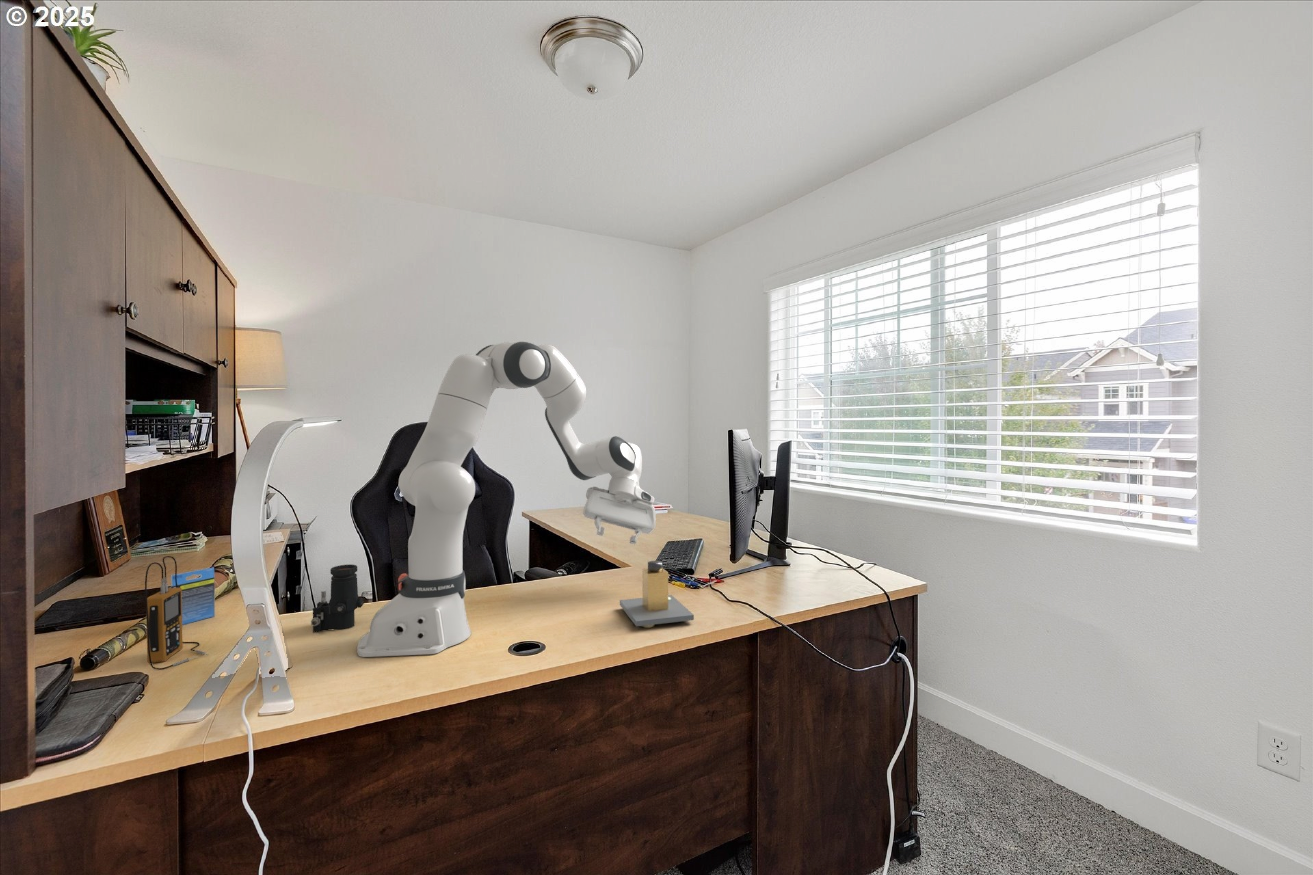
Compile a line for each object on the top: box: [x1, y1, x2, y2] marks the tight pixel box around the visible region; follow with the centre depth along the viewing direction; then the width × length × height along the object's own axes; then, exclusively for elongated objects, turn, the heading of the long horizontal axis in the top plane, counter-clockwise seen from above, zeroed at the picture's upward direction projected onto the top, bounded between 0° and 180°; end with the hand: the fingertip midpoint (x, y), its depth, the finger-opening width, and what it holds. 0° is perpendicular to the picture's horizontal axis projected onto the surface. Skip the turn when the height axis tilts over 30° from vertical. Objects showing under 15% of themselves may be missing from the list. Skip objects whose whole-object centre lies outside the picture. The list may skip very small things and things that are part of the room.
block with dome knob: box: [641, 560, 669, 611], centre depth 136 cm, size 5×5×11 cm
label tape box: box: [168, 566, 216, 626], centre depth 133 cm, size 9×4×12 cm, turn 154°
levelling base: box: [619, 594, 695, 628], centre depth 136 cm, size 14×16×2 cm
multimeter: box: [144, 555, 210, 670], centre depth 114 cm, size 15×10×20 cm
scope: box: [310, 564, 364, 634], centre depth 129 cm, size 8×14×10 cm
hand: (616, 538), depth 150 cm, fingers open, 8 cm apart
